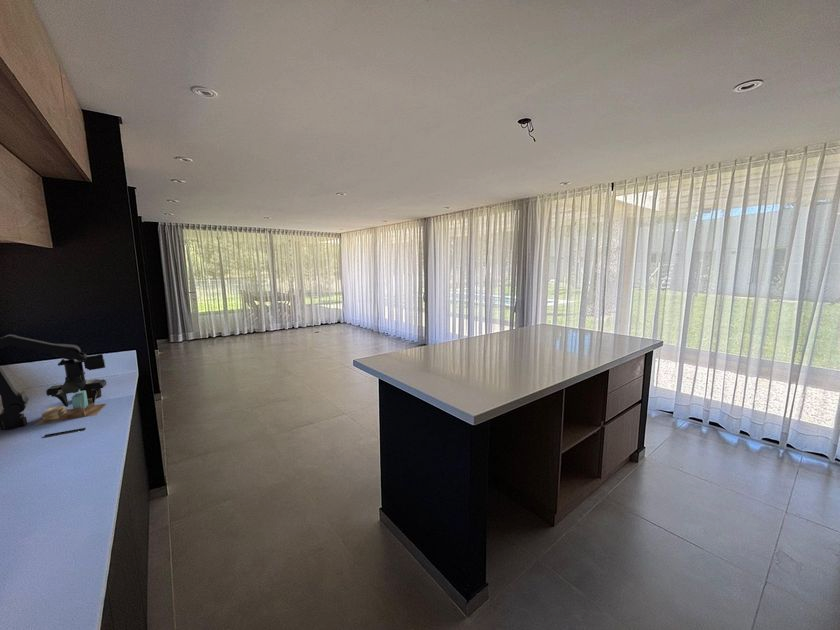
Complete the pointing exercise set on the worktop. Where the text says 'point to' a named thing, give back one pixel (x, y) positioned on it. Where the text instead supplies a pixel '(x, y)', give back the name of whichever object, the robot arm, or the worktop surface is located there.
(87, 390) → the coffee mug
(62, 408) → the oak offcut upper
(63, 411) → the oak offcut lower
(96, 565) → the worktop surface
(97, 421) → the worktop surface
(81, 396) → the teal rectangular block
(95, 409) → the walnut rack
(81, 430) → the charcoal mat
